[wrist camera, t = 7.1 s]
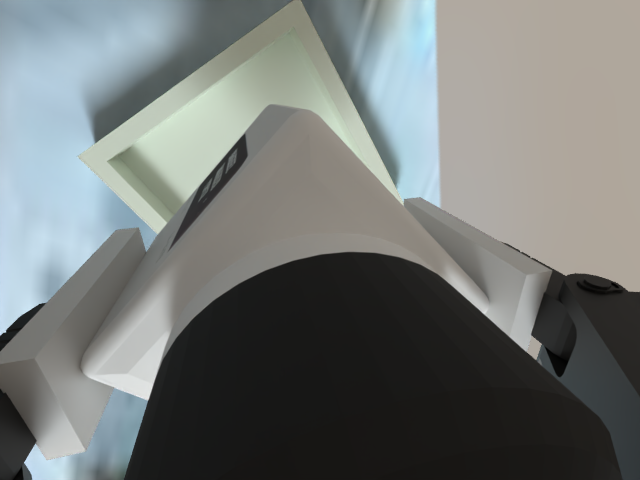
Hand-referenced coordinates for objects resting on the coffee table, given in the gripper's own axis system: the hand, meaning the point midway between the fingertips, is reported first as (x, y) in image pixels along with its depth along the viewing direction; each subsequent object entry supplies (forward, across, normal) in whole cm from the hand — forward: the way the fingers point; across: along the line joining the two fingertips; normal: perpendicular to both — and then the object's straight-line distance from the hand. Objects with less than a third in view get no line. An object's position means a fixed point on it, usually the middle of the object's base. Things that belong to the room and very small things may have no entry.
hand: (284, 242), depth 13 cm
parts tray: (+11, 0, 0) cm, 11 cm away
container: (+2, 0, 0) cm, 2 cm away
